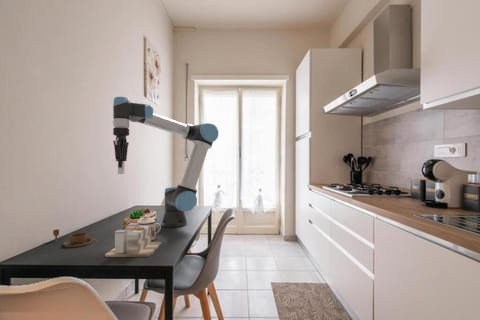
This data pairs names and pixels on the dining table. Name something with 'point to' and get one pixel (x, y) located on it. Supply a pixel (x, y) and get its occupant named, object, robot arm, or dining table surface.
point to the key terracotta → (130, 229)
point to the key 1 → (120, 241)
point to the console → (138, 244)
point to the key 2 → (134, 224)
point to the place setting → (75, 239)
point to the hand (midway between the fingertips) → (121, 174)
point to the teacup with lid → (149, 222)
